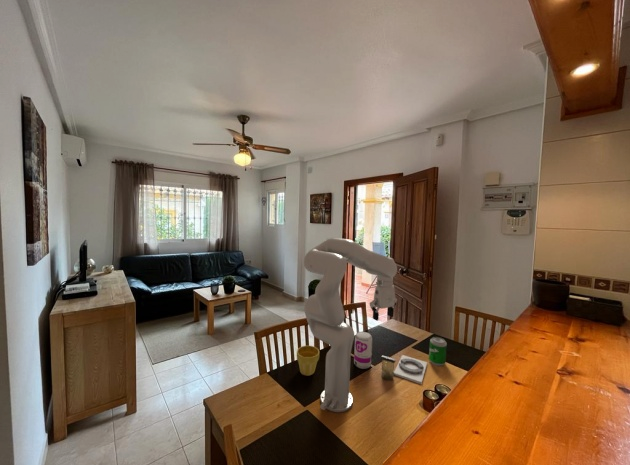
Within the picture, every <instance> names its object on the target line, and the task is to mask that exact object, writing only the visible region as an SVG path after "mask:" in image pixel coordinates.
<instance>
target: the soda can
mask: <svg viewBox="0 0 630 465" xmlns="http://www.w3.org/2000/svg"><path fill="white" fill-rule="evenodd" d="M447 345H448V344H447V341H446V340H445V339H444V338H442V337H439V336H433V337H432V338H430V339H429V349H428V350H429V353H428V360H429V362H430V363H431V364H432V365H434V366H436V367H443V366H444V365H445V364H446V363H447V362H446V360H447V348H448V347H447Z"/></svg>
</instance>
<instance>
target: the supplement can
mask: <svg viewBox="0 0 630 465" xmlns="http://www.w3.org/2000/svg"><path fill="white" fill-rule="evenodd" d="M372 350H373V337H372V335H371V333H369V332H366V331H358V332H357V333H356V334H355V335H354V353H353V354H354V355H353V356H354V357H353V363H354V365H355V367H357V368H359V369H362V370H364V369H365V370H366V369H369V368H370V367H372V353H373V351H372Z"/></svg>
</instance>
